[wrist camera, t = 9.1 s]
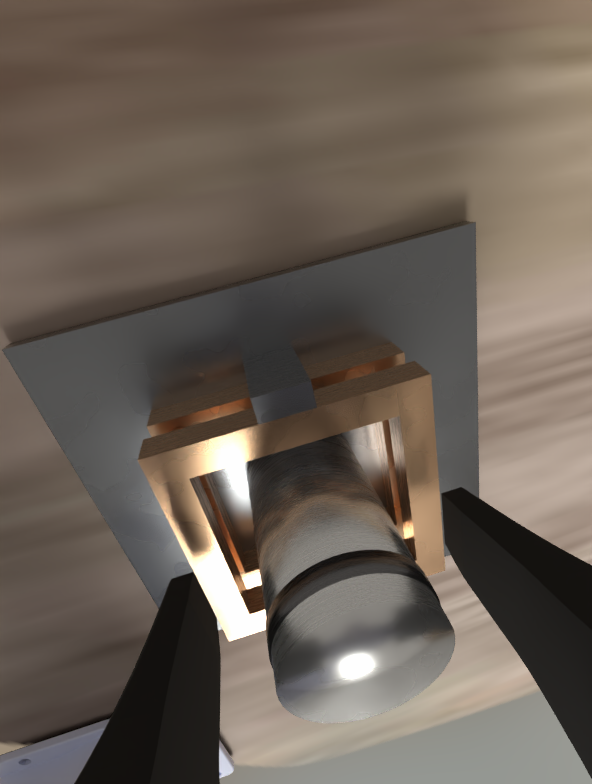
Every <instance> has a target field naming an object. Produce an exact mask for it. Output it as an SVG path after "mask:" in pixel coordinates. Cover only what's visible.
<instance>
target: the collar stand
mask: <svg viewBox="0 0 592 784" xmlns="http://www.w3.org/2000/svg"><path fill="white" fill-rule="evenodd" d="M2 351H3V352H4V354H5V356H6V357H7V359H8V361H9V362H10V364H11V365H12V367H13V369H14V370H15V372H16V374H17V375H18V377H19V379H20V380H21V382H22V384H23V385H24V387H25V389H26V390H27V392H28V394H29V395H30V397H31V398H32V400H33V402H34V403H35V405H36V407H37V408H38V410H39V412H40V413H41V415H42V417H43V418H44V420H45V422H46V423H47V425H48V427H49V428H50V430H51V431H52V433H53V435H54V436H55V438H56V440H57V441H58V443H59V445H60V446H61V448H62V450H63V451H64V453H65V455H66V456H67V458H68V460H69V461H70V463H71V464H72V466H73V468H74V469H75V471H76V473H77V474H78V476H79V478H80V479H81V481H82V483H83V484H84V486H85V488H86V489H87V491H88V493H89V494H90V496H91V497H92V499H93V501H94V502H95V504H96V506H97V507H98V509H99V511H100V512H101V514H102V516H103V517H104V519H105V521H106V522H107V524H108V526H109V527H110V529H111V530H112V532H113V534H114V535H115V537H116V539H117V540H118V542H119V544H120V545H121V547H122V549H123V550H124V552H125V554H126V555H127V557H128V559H129V560H130V562H131V564H132V565H133V567H134V568H135V570H136V572H137V573H138V575H139V577H140V578H141V580H142V582H143V583H144V585H145V587H146V588H147V590H148V592H149V593H150V595H151V597H152V598H153V600H154V601H155V603H156V605H157V606H158V608H160V605H161V603H162V600H163V598H164V595H165V592H166V590H167V587H168V584H169V582H170V581H171V579H172V578H175V577H178V576H182V575H185V574H188V573H191V572H194V574H195V576H196V578H197V580H198V582H199V584H200V585H201V587H202V589H203V591H204V593H205V595H206V597H207V599H208V601H209V603H210V605H211V607H212V609H213V611H214V613H215V615H216V617H217V625H218V630H221V629H223V630H224V632H225V634H226V636H227V638H228V640H229V641H232V640H235V639H238V638H241V637H244V636H247V635H250V634H253V633H256V632H259V631H262V630H265V629H266V628H265V626H266V613H265V606H264V599H263V591H262V584H261V577H260V570H259V563H258V555H257V548H256V541H255V534H254V527H253V519H252V512H251V505H250V498H249V490H248V483H247V469H248V465H249V462H250V460H254V459H257V458H260V457H264V456H267V455H270V454H274V453H277V452H280V451H284V450H287V449H290V448H294V447H297V446H300V445H304V444H307V443H310V442H314V441H317V440H320V439H324V438H327V437H330V436H334V435H337V434H340V435H341V436H342V437H343V438H344V439H345V440H346V441H347V442H348V444H349V445H350V447H351V449H352V451H353V452H354V454H355V456H356V458H357V459H358V461H359V463H360V465H361V466H362V468H363V470H364V472H365V473H366V475H367V477H368V479H369V480H370V482H371V484H372V486H373V488H374V489H375V491H376V493H377V495H378V496H379V498H380V500H381V502H382V503H383V505H384V507H385V509H386V510H387V512H388V514H389V516H390V517H391V519H392V521H393V523H394V525H395V526H396V528H397V530H398V532H399V533H400V535H401V537H402V539H403V540H404V542H405V544H406V546H407V547H408V549H409V551H410V553H411V554H412V556H413V558H414V560H415V561H416V563H417V564H418V565H419V566H420V568H421V569H422V570H423V571H424V573H425V575H426V576H430V575H433V574H436V573H439V572H442V571H445V559H444V557H445V556H448V555H451V554H450V552H449V550H448V548H447V546H446V545H445V539H444V525H443V511H442V497H441V493H444V492H447V491H450V490H453V489H456V488H459V487H462V488H464V489H466V490H467V491H469V492H470V493H472V494H473V495H475V496H476V497H478V498H479V453H478V375H477V298H476V222H467V221H466V222H462V223H458V224H455V225H451V226H447V227H443V228H440V229H436V230H432V231H429V232H425V233H421V234H417V235H414V236H410V237H406V238H403V239H399V240H395V241H391V242H388V243H384V244H380V245H376V246H373V247H369V248H365V249H362V250H358V251H354V252H350V253H347V254H343V255H339V256H336V257H332V258H328V259H324V260H321V261H317V262H313V263H309V264H306V265H302V266H298V267H295V268H291V269H287V270H283V271H280V272H276V273H272V274H268V275H265V276H261V277H257V278H254V279H250V280H246V281H242V282H239V283H235V284H231V285H228V286H224V287H220V288H216V289H213V290H209V291H205V292H201V293H198V294H194V295H190V296H187V297H183V298H179V299H175V300H172V301H168V302H164V303H161V304H157V305H153V306H149V307H146V308H142V309H138V310H134V311H131V312H127V313H123V314H120V315H116V316H112V317H108V318H105V319H101V320H97V321H94V322H90V323H86V324H82V325H79V326H75V327H71V328H67V329H64V330H60V331H56V332H53V333H49V334H45V335H41V336H38V337H34V338H30V339H27V340H23V341H19V342H15V343H12V344H9V345H8V346H7V347H5V348H4V349H3V350H2Z"/></svg>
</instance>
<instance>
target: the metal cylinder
mask: <svg viewBox="0 0 592 784" xmlns="http://www.w3.org/2000/svg"><path fill="white" fill-rule="evenodd" d="M247 483H248V490H249V498H250V505H251V512H252V519H253V527H254V534H255V541H256V548H257V555H258V563H259V570H260V577H261V584H262V591H263V599H264V606H265V613H266V626H265V628H266V636H267V643H268V651H269V658H270V662H271V665H272V668H273V671H274V678H275V685H276V693H277V696H278V699H279V701H280V702H281V704H282V705H283V707H284V708H285V709H287V710H288V711H289V712H290V713H292V714H293V715H295V716H297V717H299V718H302V719H305V720H308V721H313V722H319V723H344V722H352V721H357V720H362V719H366V718H370V717H373V716H376V715H379V714H382V713H384V712H387V711H389V710H392V709H394V708H396V707H398V706H400V705H402V704H404V703H405V702H407V701H409V700H410V699H412V698H414V697H415V696H416V695H418V694H419V693H421V692H422V691H423V690H425V689H426V688H427V687H428V686H429V685H430V684H431V683H433V682H434V681H435V680H436V679H437V677H438V676H439V675H440V674H441V673H442V672H443V670H444V669H445V667H446V666H447V664H448V662H449V661H450V659H451V656H452V654H453V651H454V646H455V634H454V629H453V627H452V625H451V623H450V621H449V620H448V618H447V616H446V614H445V613H444V611H443V609H442V607H441V605H440V601H439V598H438V596H437V594H436V592H435V591H434V589H433V587H432V585H431V584H430V582H429V580H428V578H427V577H426V575H425V573H424V571H423V570H422V569H421V568H420V566H419V565H418V564H417V563H416V561H415V560H414V558H413V556H412V554H411V553H410V551H409V549H408V547H407V546H406V544H405V542H404V540H403V539H402V537H401V535H400V533H399V532H398V530H397V528H396V526H395V525H394V523H393V521H392V519H391V517H390V516H389V514H388V512H387V510H386V509H385V507H384V505H383V503H382V502H381V500H380V498H379V496H378V495H377V493H376V491H375V489H374V488H373V486H372V484H371V482H370V480H369V479H368V477H367V475H366V473H365V472H364V470H363V468H362V466H361V465H360V463H359V461H358V459H357V458H356V456H355V454H354V452H353V451H352V449H351V447H350V445H349V444H348V442H347V441H346V440H345V439H344V438H343V437H342V436H341V435H340V434H337V435H334V436H330V437H327V438H324V439H320V440H317V441H314V442H310V443H307V444H304V445H300V446H297V447H294V448H290V449H287V450H284V451H280V452H277V453H274V454H270V455H267V456H264V457H260V458H257V459H254V460H250V462H249V465H248V469H247Z"/></svg>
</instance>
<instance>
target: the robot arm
mask: <svg viewBox="0 0 592 784" xmlns="http://www.w3.org/2000/svg"><path fill="white" fill-rule="evenodd" d="M441 497H442V511H443V525H444V539H445V545H446V546H447V548H448V550H449V552H450V554H451V556H452V557H453V559H454V561H455V563H456V565H457V566H458V568H459V570H460V572H461V573H462V575H463V577H464V578H465V580H466V581H467V583H468V584H469V586H470V587H471V588H472V590H473V591H474V593H475V594H476V596H477V597H478V598H479V600H480V601H481V603H482V604H483V605H484V607H485V608H486V610H487V611H488V612H489V614H490V615H491V617H492V618H493V620H494V621H495V622H496V624H497V625H498V627H499V628H500V629H501V631H502V632H503V634H504V635H505V636H506V638H507V639H508V641H509V642H510V643H511V645H512V646H513V648H514V649H515V650H516V652H517V653H518V655H519V656H520V658H521V659H522V661H523V662H524V664H525V665H526V667H527V668H528V670H529V671H530V673H531V675H532V676H533V678H534V680H535V681H536V683H537V685H538V686H539V688H540V690H541V691H542V693H543V695H544V696H545V698H546V700H547V701H548V703H549V705H550V706H551V708H552V710H553V711H554V713H555V715H556V717H557V718H558V720H559V722H560V724H561V725H562V727H563V729H564V731H565V732H566V734H567V736H568V738H569V739H570V741H571V743H572V744H573V746H574V748H575V750H576V751H577V753H578V755H579V757H580V758H581V760H582V762H583V764H584V765H585V768H586V769H587V771H588V773H589V775H590V776H591V778H592V565H590V564H588V563H586V562H584V561H582V560H580V559H578V558H577V557H575V556H573V555H571V554H569V553H568V552H566V551H564V550H562V549H560V548H558V547H557V546H555V545H553V544H551V543H550V542H548V541H546V540H545V539H543V538H541V537H539V536H538V535H536V534H535V533H533V532H531V531H530V530H528V529H526V528H525V527H523V526H521V525H520V524H518V523H516V522H515V521H513V520H512V519H510V518H508V517H507V516H505V515H504V514H502V513H501V512H499V511H498V510H496V509H495V508H493V507H491V506H490V505H488V504H487V503H485V502H484V501H482V500H481V499H479V498H478V497H476V496H475V495H473V494H472V493H470V492H469V491H467V490H466V489H464V488H462V487H459V488H456V489H453V490H450V491H447V492H444V493H441ZM219 732H220V646H219V635H218V625H217V617H216V615H215V613H214V611H213V609H212V607H211V605H210V603H209V601H208V599H207V597H206V595H205V593H204V591H203V589H202V587H201V585H200V584H199V582H198V580H197V578H196V576H195V574H194V572H191V573H188V574H185V575H182V576H178V577H175V578H172V579H171V581H170V582H169V584H168V587H167V590H166V592H165V595H164V598H163V600H162V603H161V605H160V608H159V611H158V613H157V616H156V618H155V621H154V623H153V626H152V628H151V631H150V633H149V635H148V638H147V640H146V642H145V645H144V647H143V649H142V652H141V654H140V656H139V659H138V661H137V663H136V666H135V668H134V670H133V672H132V674H131V677H130V679H129V681H128V683H127V685H126V687H125V689H124V691H123V693H122V695H121V697H120V699H119V702H118V704H117V706H116V708H115V710H114V712H113V714H112V716H111V718H110V719H107V720H104V721H101V722H98V723H95V724H92V725H89V726H86V727H83V728H80V729H77V730H74V731H71V732H68V733H65V734H62V735H59V736H56V737H53V738H50V739H47V740H44V741H41V742H38V743H35V744H32V745H29V746H26V747H23V748H20V749H17V750H15V751H11V752H8V753H5V754H2V755H0V784H220V782H219V778H221V777H224V776H227V775H229V774H231V773H232V772H233V770H234V761H233V760H232V758H231V757H230V755H229V753H228V752H227V750H226V749H225V747H224V746H223V744H222V743H221V741H220V740H219Z"/></svg>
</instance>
